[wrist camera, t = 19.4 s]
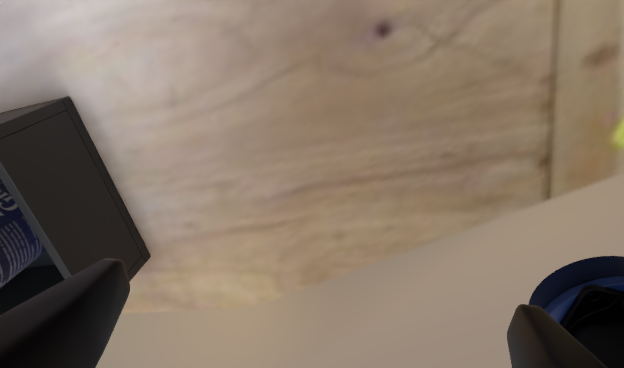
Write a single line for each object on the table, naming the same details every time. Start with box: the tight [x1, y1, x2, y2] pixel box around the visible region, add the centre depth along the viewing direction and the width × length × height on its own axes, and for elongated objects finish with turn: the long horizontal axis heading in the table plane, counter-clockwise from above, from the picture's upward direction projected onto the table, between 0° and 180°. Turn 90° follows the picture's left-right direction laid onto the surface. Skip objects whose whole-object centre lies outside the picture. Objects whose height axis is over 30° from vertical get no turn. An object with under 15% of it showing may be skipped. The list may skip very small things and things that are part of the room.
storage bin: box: [0, 97, 150, 315], centre depth 24 cm, size 11×11×6 cm
